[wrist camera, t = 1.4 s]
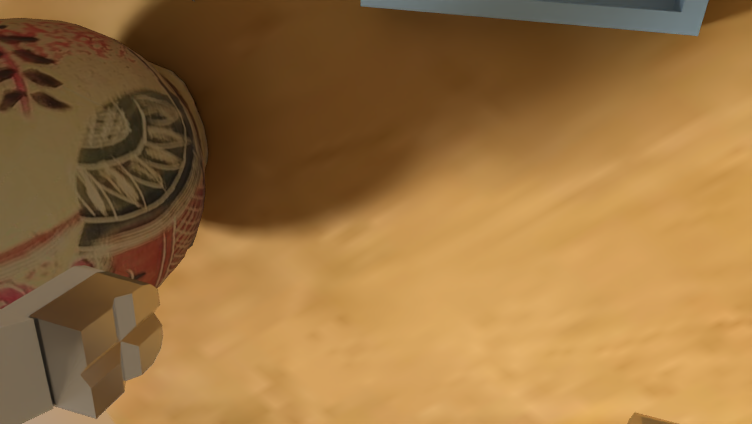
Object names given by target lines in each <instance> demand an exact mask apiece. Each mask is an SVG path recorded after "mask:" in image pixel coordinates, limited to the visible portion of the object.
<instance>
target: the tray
mask: <svg viewBox="0 0 752 424" xmlns="http://www.w3.org/2000/svg"><path fill="white" fill-rule="evenodd" d="M708 1H709V0H361V5H360V6H364V7H375V8H386V9H398V10H409V11H421V12H432V13H443V14H455V15H466V16H477V17H489V18H500V19H512V20H523V21H534V22H546V23H557V24H568V25H580V26H591V27H602V28H614V29H625V30H637V31H648V32H659V33H671V34H682V35H693V36H698V34H699V31H700V27H701V24H702V21H703V17H704V14H705V11H706V7H707V4H708Z"/></svg>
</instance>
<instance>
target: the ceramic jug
mask: <svg viewBox="0 0 752 424" xmlns="http://www.w3.org/2000/svg"><path fill="white" fill-rule="evenodd" d="M192 1H194V0H192ZM194 2H195V1H194ZM207 159H208V148H207V140H206V135H205V129H204V125H203V123H202V120H201V118H200V115H199V113H198V110H197V108H196V105H195V103H194V100H193V98H192V96H191V94H190V92H189V91H188V89H187V87H186V85H185V83H184V82H183V81H182V80H181V79H180V78H179V77H178V76H177V75H176V74H175V73H174V72H173V71H170V70H168V69H165V68H163V67H160V66H158V65H155V64H153V63H151V62H149V61H147V60H146V59H144V58H143V57H142V56H141V55H139V54H137V53H136V52H134V51H133V50H131V49H130V48H128V47H126V46H125V45H123V44H122V43H120V42H118V41H117V40H115V39H113V38H110V37H108V36H105V35H103V34H100V33H97V32H95V31H92V30H90V29H87V28H85V27H82V26H80V25H76V24H72V23H67V22H63V21H56V20H42V19H29V18H11V19H0V309H2V308H4V307H6V306H7V305H9V304H11V303H12V302H14V301H16V300H18V299H19V298H21V297H23V296H24V295H26V294H28V293H29V292H31V291H33V290H34V289H36V288H38V287H40V286H41V285H43V284H45V283H46V282H48V281H50V280H51V279H53V278H55V277H56V276H58V275H60V274H62V273H63V272H65V271H67V270H68V269H70V268H72V267H73V266H82V265H85V266H89V267H92V268H96V269H99V270H103V271H108V272H111V273H115V274H118V275H121V276H125V277H128V278H132V279H135V280H138V281H142V282H145V283H149V284H151V285H153V286H154V287H155V288H158V287H159V286H160V285H161V284H162V283H163V282H164V280H165V279H166V278H167V277H168V275H169V274H170V273H171V272H172V271H173V270H174V269H175V268H176V267H177V265H178V264H179V263H180V262H181V260H182V259H183V258H184V256H185V254H186V251H187V249H189V248H190V247H191V246H192V245H193V242H194V240H195V237H196V234H197V230H198V227H199V223H200V219H201V216H202V212H203V208H204V199H205V167H206V164H207Z"/></svg>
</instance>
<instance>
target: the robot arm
mask: <svg viewBox="0 0 752 424" xmlns="http://www.w3.org/2000/svg"><path fill="white" fill-rule="evenodd" d="M159 306H160V300H159V294H158V289H157V288H155V287H154V286H153V285H151V284H149V283H145V282H142V281H138V280H135V279H132V278H128V277H125V276H121V275H118V274H115V273H111V272H108V271H103V270H99V269H96V268H92V267H89V266H85V265H82V266H73V267H72V268H70V269H68V270H67V271H65V272H63V273H62V274H60V275H58V276H56V277H55V278H53V279H51V280H50V281H48V282H46V283H45V284H43V285H41V286H40V287H38V288H36V289H34V290H33V291H31V292H29V293H28V294H26V295H24V296H23V297H21V298H19V299H18V300H16V301H14V302H12V303H11V304H9V305H7V306H6V307H4V308H2V309H0V424H22V423H24V422H26V421H28V420H30V419H32V418H35V417H37V416H39V415H41V414H43V413H45V412H47V411H49V410H51V409H53V406H55V407H59V408H62V409H65V410H68V411H72V412H75V413H78V414H82V415H85V416H88V417H92V418H95V419H97V418H98V417H99V416H100V415H101V414H102V413H103V412H104V411H105V410H106V409H107V408H108V407H109V406H110V405H111V404H112V403H113V402H114V401H115V400H117V399H118V398H119V397H120V396H121V395H122V394H123V393H124V391H125V383H126V381H127V380H130V379H132V378H135V377H138V376H140V375H142V374H143V373H144V372H145V371H146V370H147V369H148V368H149V367H150V366H151V365H152V364H153V363H154V361H155V359H156V357H157V355H158V353H159V351H160V349H161V345H162V339H163V330H162V324H161V323H160V321H159V320H158V318H157V317H156V315H155V314H154V312H155V311H156V310H157V308H158V307H159ZM628 424H678V423H674V422H670V421H666V420H662V419H658V418H654V417H651V416H647V415H643V414H639V413H634V414H633V415H632V416H631V418H630V419H629V421H628Z"/></svg>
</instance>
